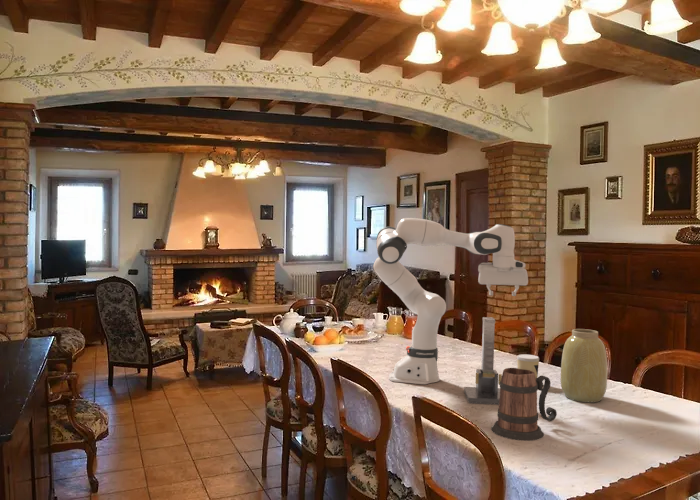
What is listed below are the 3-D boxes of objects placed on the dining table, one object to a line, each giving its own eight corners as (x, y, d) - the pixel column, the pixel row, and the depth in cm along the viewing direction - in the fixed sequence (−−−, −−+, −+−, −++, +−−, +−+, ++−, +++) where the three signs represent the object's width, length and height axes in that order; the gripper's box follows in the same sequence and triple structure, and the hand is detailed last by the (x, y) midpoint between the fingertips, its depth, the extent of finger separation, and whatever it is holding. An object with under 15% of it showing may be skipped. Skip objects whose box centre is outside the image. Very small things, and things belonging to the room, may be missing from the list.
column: (483, 378, 220) (484, 319, 220) (481, 374, 226) (482, 317, 226) (493, 378, 220) (495, 319, 219) (491, 375, 226) (492, 317, 225)
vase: (604, 394, 232) (606, 329, 231) (608, 406, 216) (610, 336, 215) (559, 389, 238) (561, 326, 237) (560, 401, 221) (562, 332, 220)
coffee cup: (539, 387, 241) (540, 359, 240) (517, 385, 243) (517, 358, 242) (537, 381, 250) (537, 354, 250) (515, 380, 252) (516, 353, 251)
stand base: (468, 403, 216) (469, 375, 216) (464, 391, 232) (464, 365, 232) (511, 405, 215) (511, 377, 214) (503, 393, 231) (504, 367, 230)
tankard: (511, 443, 175) (513, 379, 175) (480, 425, 191) (482, 366, 191) (572, 435, 183) (573, 374, 183) (537, 418, 199) (539, 362, 199)
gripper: (479, 262, 236) (478, 295, 236) (529, 263, 234) (528, 297, 234) (477, 261, 242) (476, 294, 242) (526, 263, 240) (525, 295, 241)
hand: (502, 295), depth 238 cm, fingers open, 8 cm apart
